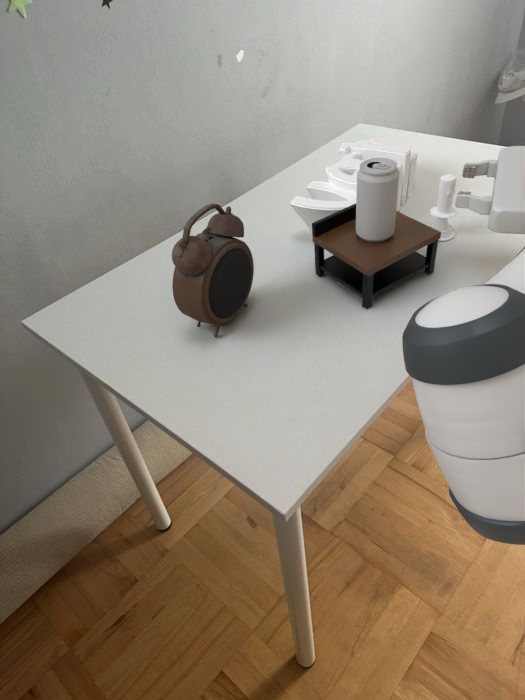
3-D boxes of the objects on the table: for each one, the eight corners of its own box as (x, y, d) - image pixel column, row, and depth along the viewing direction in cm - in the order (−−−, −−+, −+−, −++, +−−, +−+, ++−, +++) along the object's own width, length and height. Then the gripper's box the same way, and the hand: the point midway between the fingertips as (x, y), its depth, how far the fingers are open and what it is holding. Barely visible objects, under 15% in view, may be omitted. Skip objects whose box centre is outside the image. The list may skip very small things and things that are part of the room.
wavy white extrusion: (359, 260, 94) (360, 208, 86) (284, 240, 101) (279, 191, 94) (429, 180, 113) (434, 132, 106) (361, 169, 121) (363, 124, 114)
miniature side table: (435, 272, 88) (443, 219, 81) (366, 310, 83) (368, 257, 76) (379, 241, 97) (382, 191, 90) (313, 274, 92) (311, 223, 85)
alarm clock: (217, 351, 80) (191, 241, 66) (182, 338, 83) (150, 230, 69) (266, 299, 88) (252, 192, 74) (232, 289, 91) (213, 184, 78)
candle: (431, 224, 100) (439, 165, 92) (458, 230, 97) (469, 170, 89) (421, 237, 97) (428, 178, 89) (448, 244, 94) (459, 183, 86)
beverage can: (369, 220, 88) (372, 152, 80) (402, 231, 84) (408, 161, 76) (347, 237, 85) (348, 168, 77) (380, 248, 81) (384, 177, 73)
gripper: (560, 251, 65) (448, 239, 69) (557, 180, 78) (463, 174, 83) (576, 206, 60) (455, 197, 65) (570, 139, 74) (470, 135, 78)
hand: (459, 184), depth 74 cm, fingers open, 8 cm apart
